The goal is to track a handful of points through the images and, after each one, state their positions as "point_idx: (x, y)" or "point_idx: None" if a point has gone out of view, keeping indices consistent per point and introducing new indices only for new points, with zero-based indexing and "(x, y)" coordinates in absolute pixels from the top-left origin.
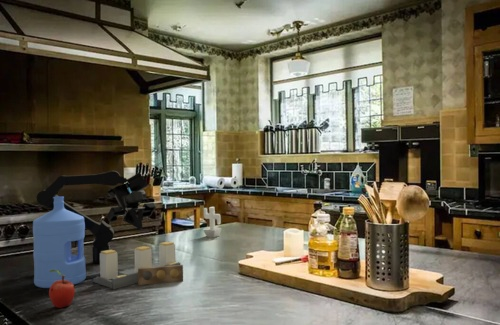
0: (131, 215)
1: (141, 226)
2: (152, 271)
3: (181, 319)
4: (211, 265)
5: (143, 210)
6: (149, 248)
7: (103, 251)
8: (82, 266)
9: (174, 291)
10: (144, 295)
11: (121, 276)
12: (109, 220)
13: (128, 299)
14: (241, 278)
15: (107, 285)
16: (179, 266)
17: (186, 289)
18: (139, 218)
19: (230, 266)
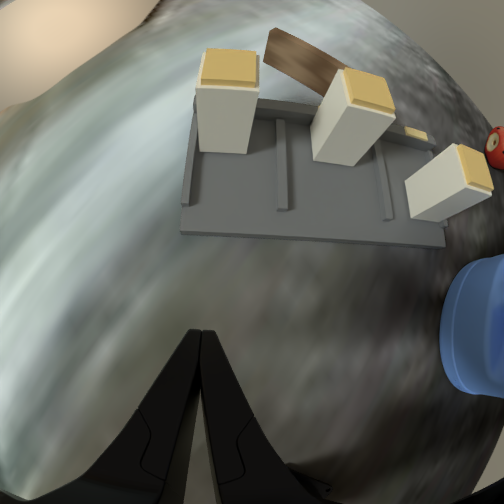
0: (314, 501)
1: (197, 336)
2: None
3: (373, 10)
4: (94, 100)
5: (9, 493)
6: (347, 70)
7: (489, 180)
8: (486, 266)
9: (327, 42)
10: (382, 73)
11: (417, 130)
12: (462, 498)
13: (411, 85)
14: (176, 8)
15: None
16: (283, 32)
17: (303, 33)
18: (166, 432)
19: (89, 66)
